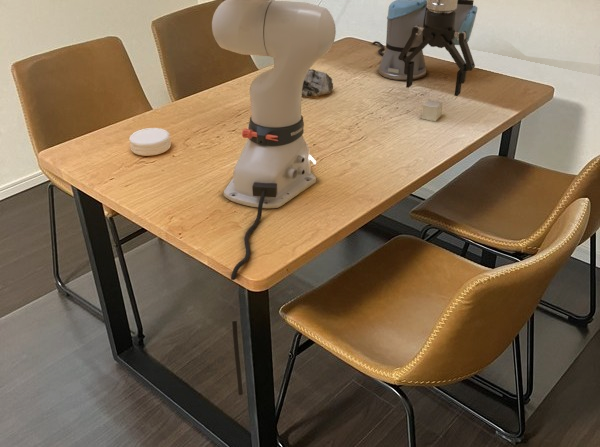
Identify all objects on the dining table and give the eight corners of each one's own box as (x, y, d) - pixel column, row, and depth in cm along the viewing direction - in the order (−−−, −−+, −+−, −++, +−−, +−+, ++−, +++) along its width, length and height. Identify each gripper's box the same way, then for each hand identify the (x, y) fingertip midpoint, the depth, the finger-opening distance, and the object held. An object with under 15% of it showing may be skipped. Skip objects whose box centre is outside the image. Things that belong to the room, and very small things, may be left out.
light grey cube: (427, 113, 174) (428, 99, 172) (441, 115, 172) (442, 102, 170) (421, 118, 171) (422, 104, 169) (435, 121, 169) (436, 107, 167)
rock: (337, 91, 188) (337, 68, 185) (314, 100, 182) (313, 76, 179) (303, 81, 198) (303, 59, 194) (280, 89, 192) (279, 66, 188)
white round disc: (133, 140, 161) (131, 128, 159) (172, 138, 162) (170, 126, 160) (128, 157, 152) (126, 144, 150) (169, 155, 153) (167, 142, 151)
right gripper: (389, 7, 159) (384, 87, 171) (486, 19, 149) (474, 102, 160) (400, 1, 165) (395, 78, 176) (494, 11, 154) (482, 93, 166)
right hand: (432, 90), depth 168 cm, fingers open, 13 cm apart
